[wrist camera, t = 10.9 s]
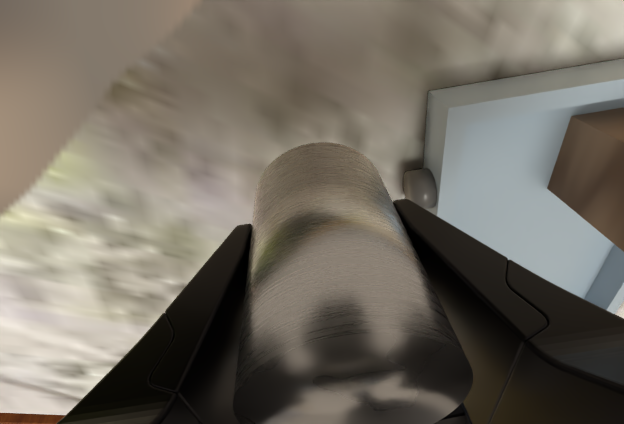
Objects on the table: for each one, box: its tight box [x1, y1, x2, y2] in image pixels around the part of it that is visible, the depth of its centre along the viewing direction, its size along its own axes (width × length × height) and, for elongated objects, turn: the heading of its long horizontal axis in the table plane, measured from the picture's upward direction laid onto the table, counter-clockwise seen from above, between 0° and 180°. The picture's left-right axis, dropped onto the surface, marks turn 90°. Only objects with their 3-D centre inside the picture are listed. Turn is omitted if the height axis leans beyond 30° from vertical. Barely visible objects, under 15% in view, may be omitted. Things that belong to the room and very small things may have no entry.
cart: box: [403, 58, 624, 314], centre depth 19 cm, size 18×15×2 cm
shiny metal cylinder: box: [233, 143, 473, 424], centre depth 8 cm, size 4×4×6 cm
